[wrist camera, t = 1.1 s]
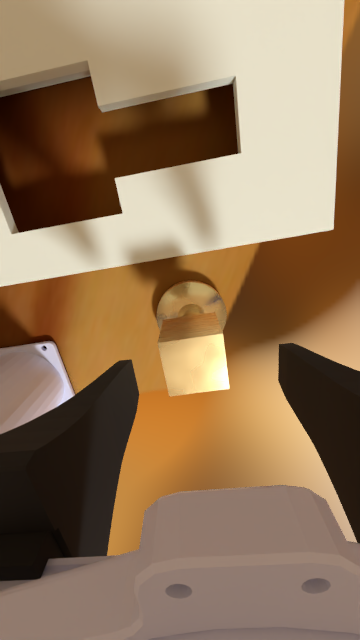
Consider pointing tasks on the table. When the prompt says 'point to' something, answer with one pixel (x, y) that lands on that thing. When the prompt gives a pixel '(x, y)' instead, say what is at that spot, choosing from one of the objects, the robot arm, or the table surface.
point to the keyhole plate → (178, 79)
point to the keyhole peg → (192, 338)
